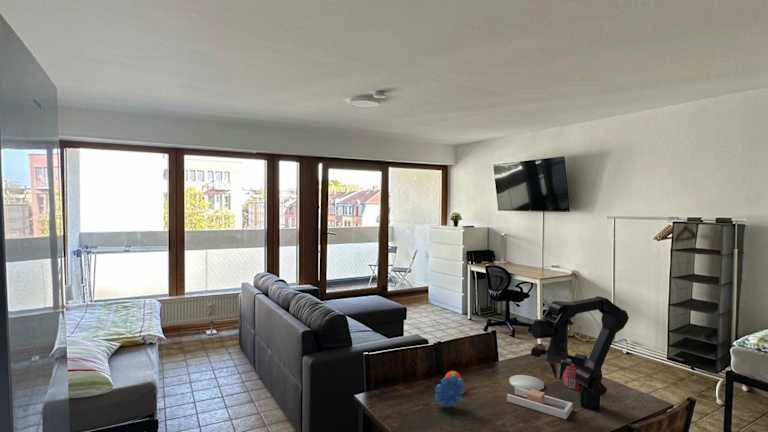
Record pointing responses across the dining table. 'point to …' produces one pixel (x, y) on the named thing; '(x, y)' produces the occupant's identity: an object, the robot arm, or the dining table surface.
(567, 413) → the channel
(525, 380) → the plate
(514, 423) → the dining table surface
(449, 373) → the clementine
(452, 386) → the grapes
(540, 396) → the block
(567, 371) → the soda can
